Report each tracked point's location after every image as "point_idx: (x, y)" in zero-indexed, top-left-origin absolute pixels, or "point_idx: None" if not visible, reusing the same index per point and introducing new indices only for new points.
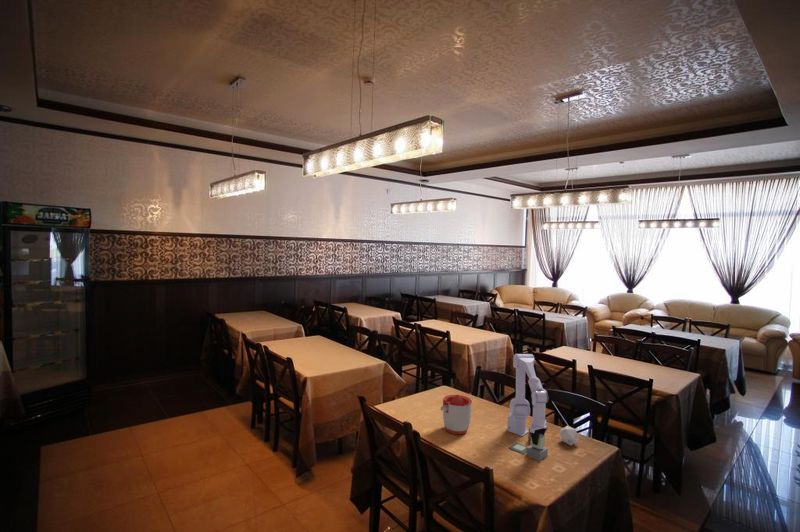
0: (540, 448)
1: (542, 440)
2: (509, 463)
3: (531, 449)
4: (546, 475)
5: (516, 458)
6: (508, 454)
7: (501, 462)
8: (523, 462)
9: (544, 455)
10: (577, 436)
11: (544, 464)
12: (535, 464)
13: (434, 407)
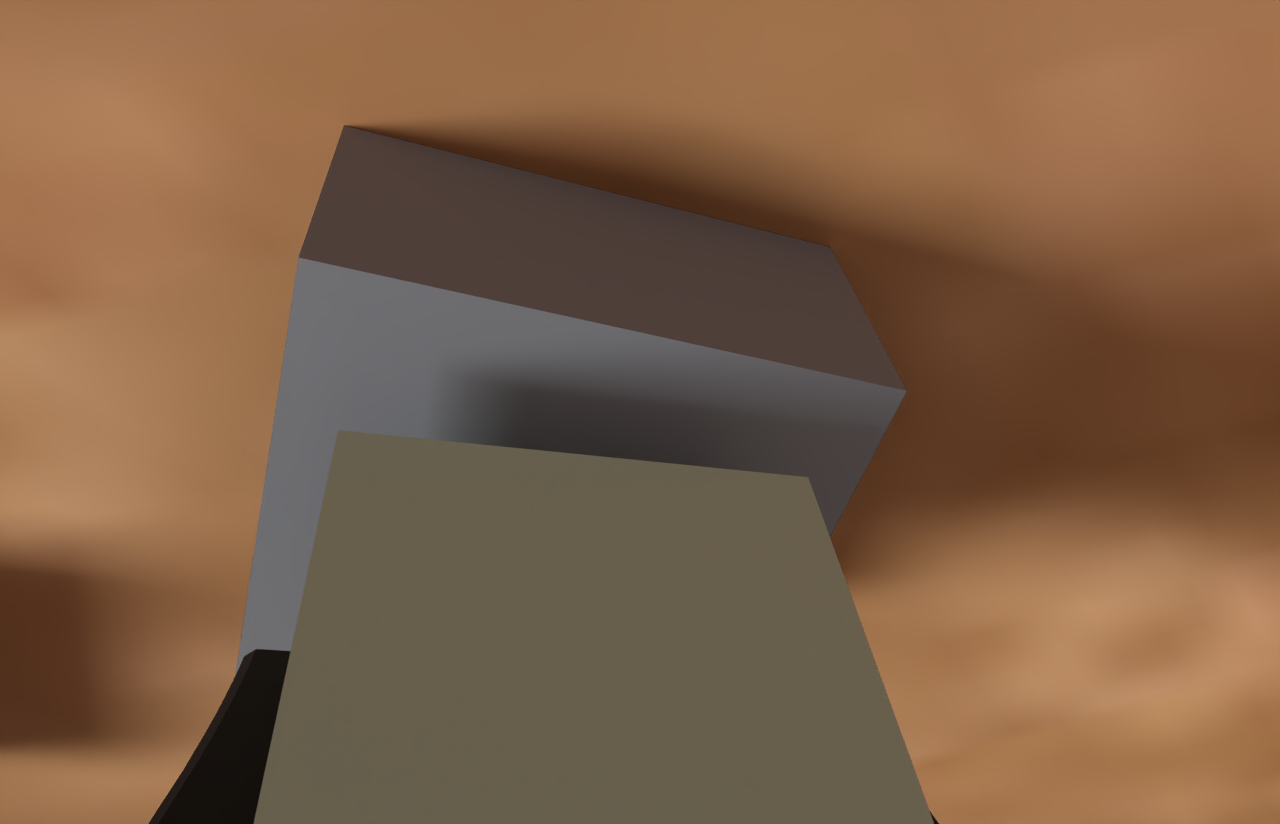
0: (800, 496)
1: (669, 740)
2: (1269, 700)
3: None
4: None
5: (990, 676)
6: None
7: (1276, 791)
8: (1116, 531)
9: (545, 215)
10: None
11: (987, 65)
12: (1103, 287)
13: None
